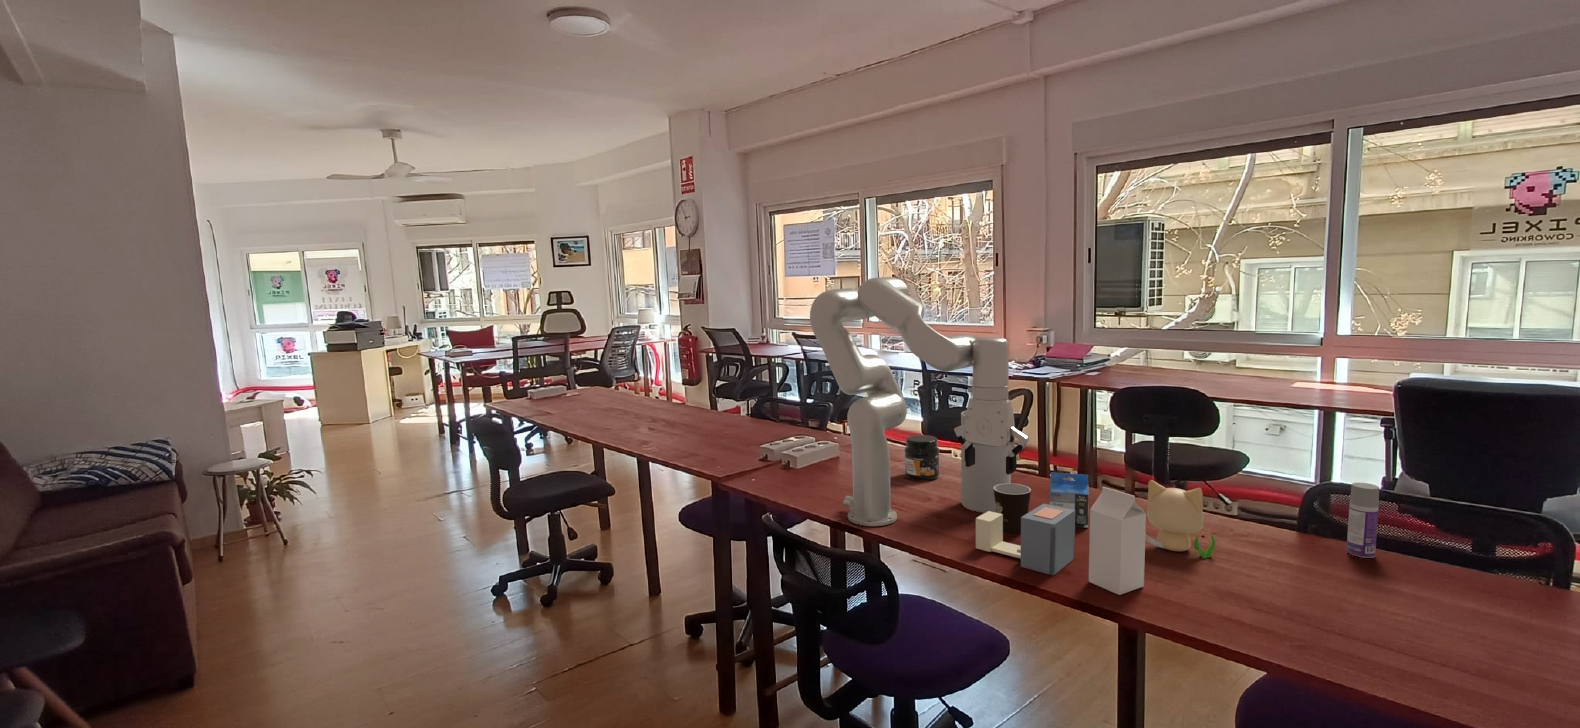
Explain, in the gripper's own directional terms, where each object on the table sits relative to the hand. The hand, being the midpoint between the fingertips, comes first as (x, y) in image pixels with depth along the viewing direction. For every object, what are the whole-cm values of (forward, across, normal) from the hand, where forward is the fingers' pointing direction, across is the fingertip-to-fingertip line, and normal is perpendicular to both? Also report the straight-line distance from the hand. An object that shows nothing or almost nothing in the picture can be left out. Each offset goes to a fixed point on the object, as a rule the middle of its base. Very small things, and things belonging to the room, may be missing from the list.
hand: (990, 469), depth 155 cm
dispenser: (+18, +13, 0) cm, 23 cm away
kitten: (+18, +32, +24) cm, 44 cm away
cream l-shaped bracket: (+18, +7, 0) cm, 19 cm away
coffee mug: (+18, -2, +15) cm, 24 cm away
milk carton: (+18, +28, -2) cm, 33 cm away
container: (+18, +62, +44) cm, 78 cm away
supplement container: (+19, -42, +38) cm, 60 cm away
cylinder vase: (+18, -14, +25) cm, 34 cm away
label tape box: (+18, +8, +25) cm, 32 cm away
